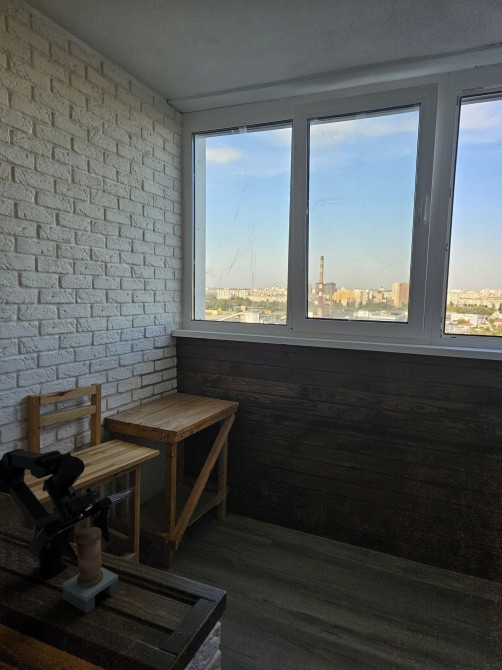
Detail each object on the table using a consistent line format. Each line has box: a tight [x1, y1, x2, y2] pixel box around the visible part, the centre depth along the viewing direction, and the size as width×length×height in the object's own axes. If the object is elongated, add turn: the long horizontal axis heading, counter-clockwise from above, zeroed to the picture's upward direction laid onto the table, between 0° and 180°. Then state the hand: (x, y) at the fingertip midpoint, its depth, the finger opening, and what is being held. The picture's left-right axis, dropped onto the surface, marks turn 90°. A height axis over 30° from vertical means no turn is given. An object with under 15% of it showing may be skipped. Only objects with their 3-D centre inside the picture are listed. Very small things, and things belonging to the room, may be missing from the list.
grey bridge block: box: [62, 566, 120, 614], centre depth 107 cm, size 9×9×4 cm
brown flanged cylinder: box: [74, 526, 103, 588], centre depth 106 cm, size 6×6×12 cm
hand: (92, 550), depth 105 cm, fingers open, 9 cm apart
